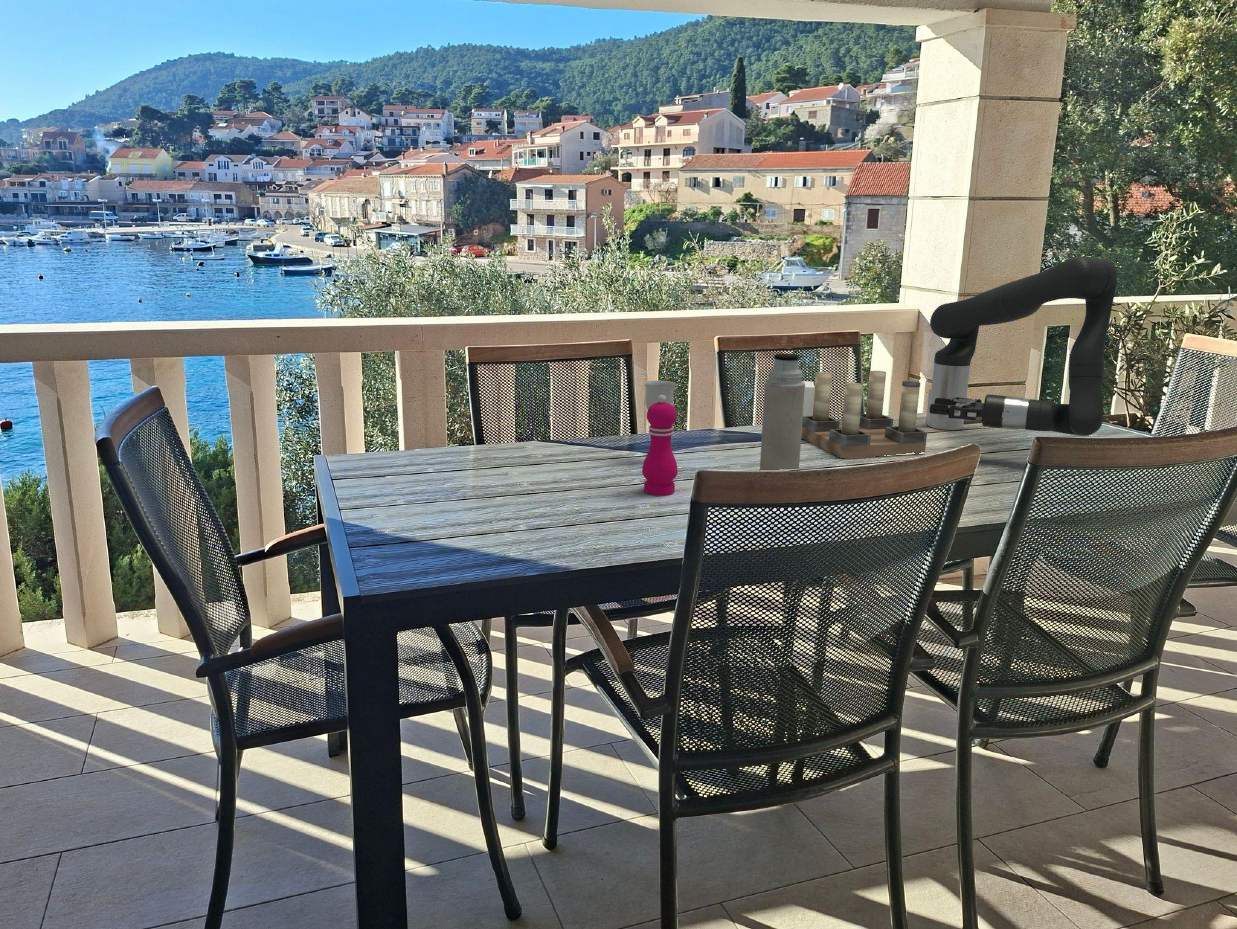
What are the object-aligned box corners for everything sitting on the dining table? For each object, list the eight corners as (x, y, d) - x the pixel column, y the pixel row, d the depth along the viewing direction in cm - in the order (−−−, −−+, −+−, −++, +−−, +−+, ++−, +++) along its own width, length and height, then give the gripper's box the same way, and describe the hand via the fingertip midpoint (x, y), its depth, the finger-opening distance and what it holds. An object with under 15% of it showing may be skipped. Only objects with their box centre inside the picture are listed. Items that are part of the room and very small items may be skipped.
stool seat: (800, 437, 242) (804, 371, 238) (877, 433, 248) (883, 369, 243) (842, 459, 222) (848, 387, 217) (924, 454, 227) (932, 384, 223)
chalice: (677, 459, 218) (680, 382, 214) (666, 466, 212) (669, 387, 208) (648, 455, 221) (650, 379, 217) (636, 462, 215) (638, 384, 211)
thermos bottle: (768, 480, 203) (776, 350, 195) (803, 487, 199) (813, 353, 191) (752, 489, 196) (760, 354, 189) (788, 496, 192) (798, 358, 185)
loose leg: (893, 438, 230) (899, 381, 227) (908, 437, 231) (914, 380, 228) (902, 442, 226) (908, 384, 223) (917, 441, 227) (923, 383, 224)
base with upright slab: (787, 424, 257) (790, 380, 254) (821, 425, 256) (824, 382, 253) (788, 431, 248) (791, 386, 245) (823, 433, 247) (826, 388, 244)
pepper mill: (663, 498, 189) (666, 399, 183) (634, 491, 193) (636, 395, 188) (683, 490, 194) (687, 394, 189) (654, 484, 198) (657, 390, 193)
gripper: (1009, 391, 223) (937, 385, 230) (1005, 401, 211) (929, 394, 217) (1005, 422, 225) (934, 415, 232) (1001, 434, 213) (926, 426, 219)
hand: (932, 405), depth 224 cm, fingers open, 8 cm apart
